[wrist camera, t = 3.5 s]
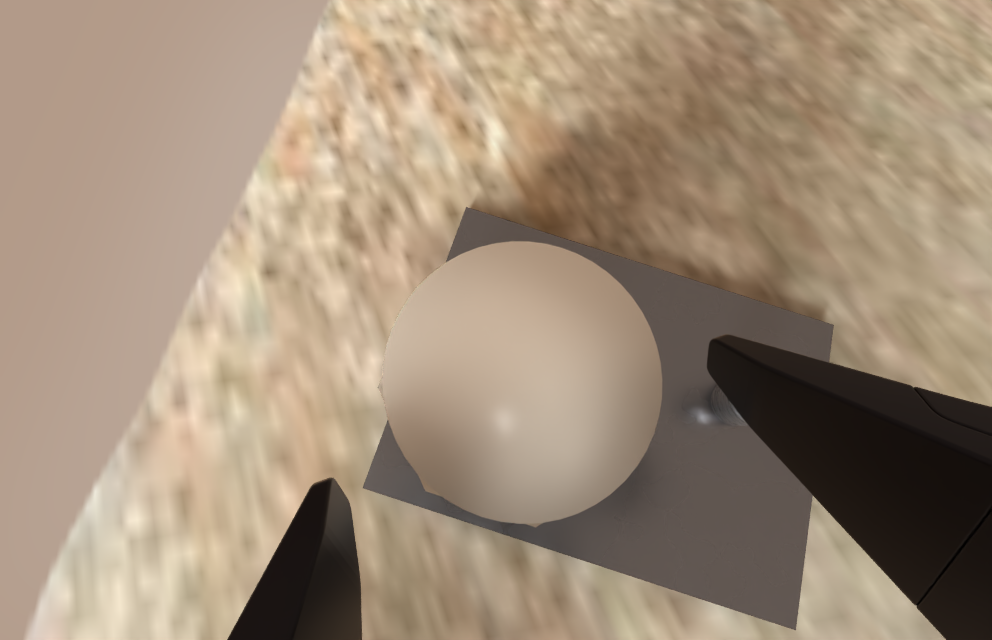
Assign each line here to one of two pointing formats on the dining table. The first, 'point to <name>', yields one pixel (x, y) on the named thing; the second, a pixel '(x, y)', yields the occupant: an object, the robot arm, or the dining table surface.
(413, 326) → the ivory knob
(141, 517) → the dining table surface
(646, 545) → the plate
